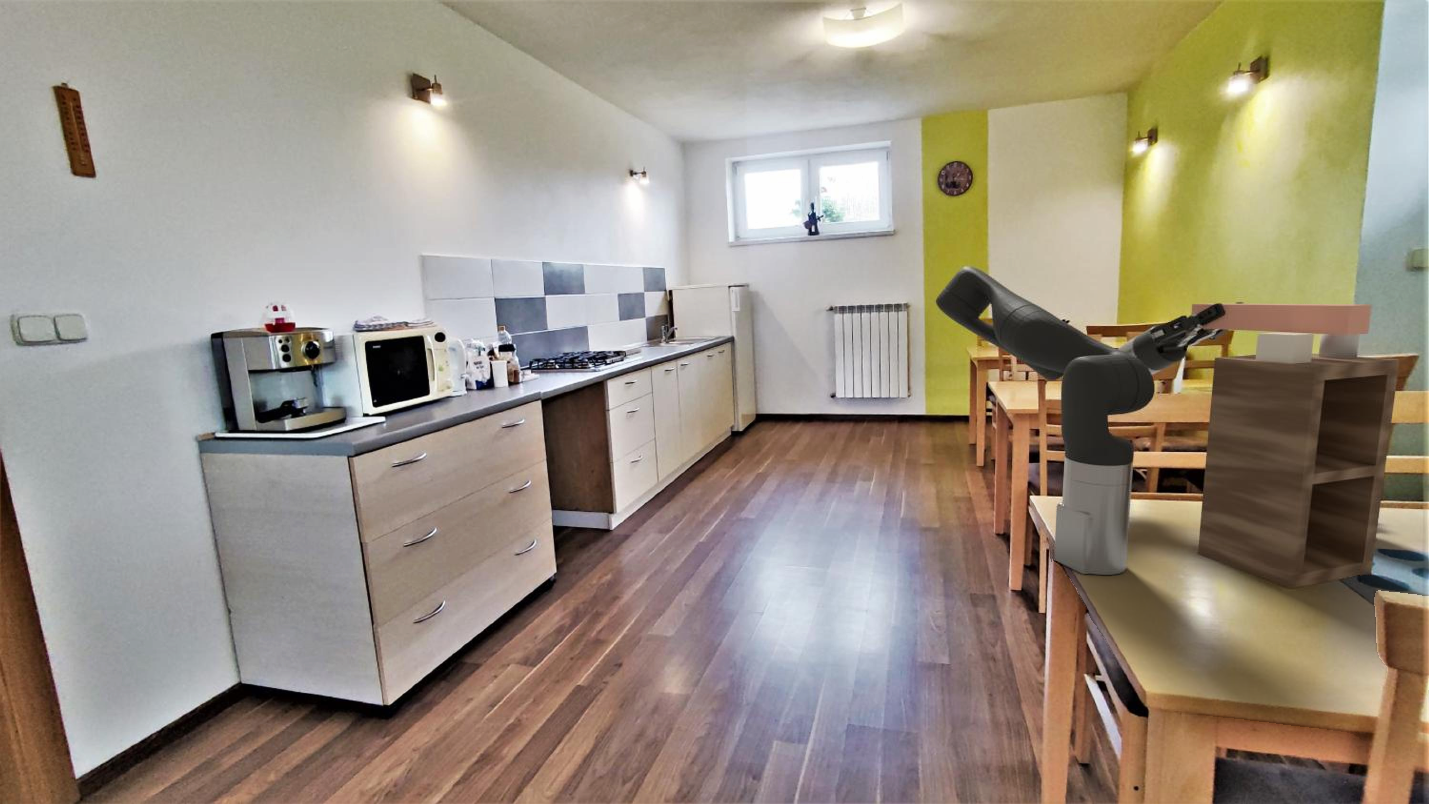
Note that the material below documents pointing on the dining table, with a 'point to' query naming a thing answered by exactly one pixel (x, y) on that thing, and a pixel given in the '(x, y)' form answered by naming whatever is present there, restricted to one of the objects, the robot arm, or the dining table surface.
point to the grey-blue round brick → (1338, 346)
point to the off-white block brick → (1284, 347)
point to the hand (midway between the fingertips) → (1232, 307)
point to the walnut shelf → (1296, 466)
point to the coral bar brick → (1292, 318)
